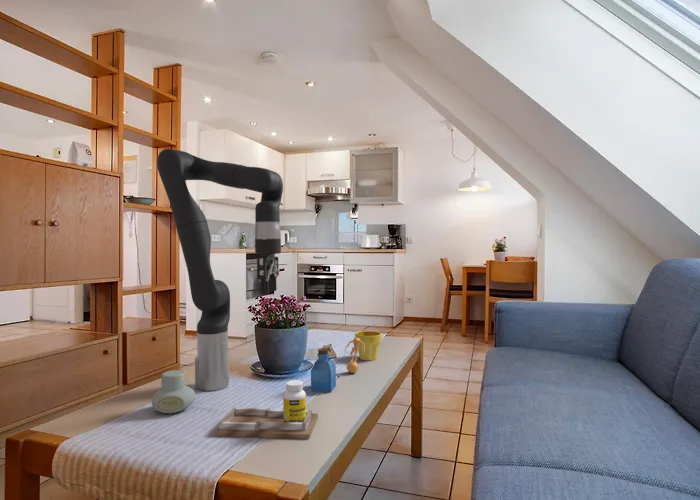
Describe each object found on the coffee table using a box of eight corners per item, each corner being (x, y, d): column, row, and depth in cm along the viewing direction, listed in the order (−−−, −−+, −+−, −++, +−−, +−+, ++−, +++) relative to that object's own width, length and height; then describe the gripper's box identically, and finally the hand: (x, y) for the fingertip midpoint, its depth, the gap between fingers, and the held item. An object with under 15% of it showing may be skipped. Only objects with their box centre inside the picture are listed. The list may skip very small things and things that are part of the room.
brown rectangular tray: (215, 436, 100) (215, 425, 99) (234, 415, 111) (234, 405, 111) (309, 438, 97) (309, 427, 97) (318, 417, 109) (317, 407, 109)
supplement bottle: (287, 429, 100) (287, 387, 100) (280, 421, 105) (279, 381, 105) (309, 424, 103) (308, 383, 103) (301, 416, 108) (300, 377, 107)
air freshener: (197, 402, 121) (197, 367, 121) (192, 413, 113) (191, 376, 113) (156, 405, 119) (156, 369, 119) (148, 417, 111) (147, 378, 111)
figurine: (339, 372, 148) (339, 337, 148) (349, 368, 153) (349, 334, 152) (359, 376, 143) (358, 340, 143) (369, 372, 148) (368, 337, 147)
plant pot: (386, 357, 167) (386, 331, 167) (373, 363, 158) (373, 336, 158) (363, 353, 172) (363, 329, 172) (350, 359, 164) (349, 334, 163)
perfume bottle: (331, 392, 128) (330, 352, 128) (311, 391, 129) (310, 351, 129) (335, 385, 134) (335, 347, 134) (316, 384, 135) (316, 346, 135)
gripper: (262, 238, 134) (263, 290, 134) (247, 237, 120) (248, 295, 120) (286, 237, 133) (287, 290, 133) (273, 237, 119) (274, 295, 119)
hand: (268, 292), depth 126 cm, fingers open, 8 cm apart
